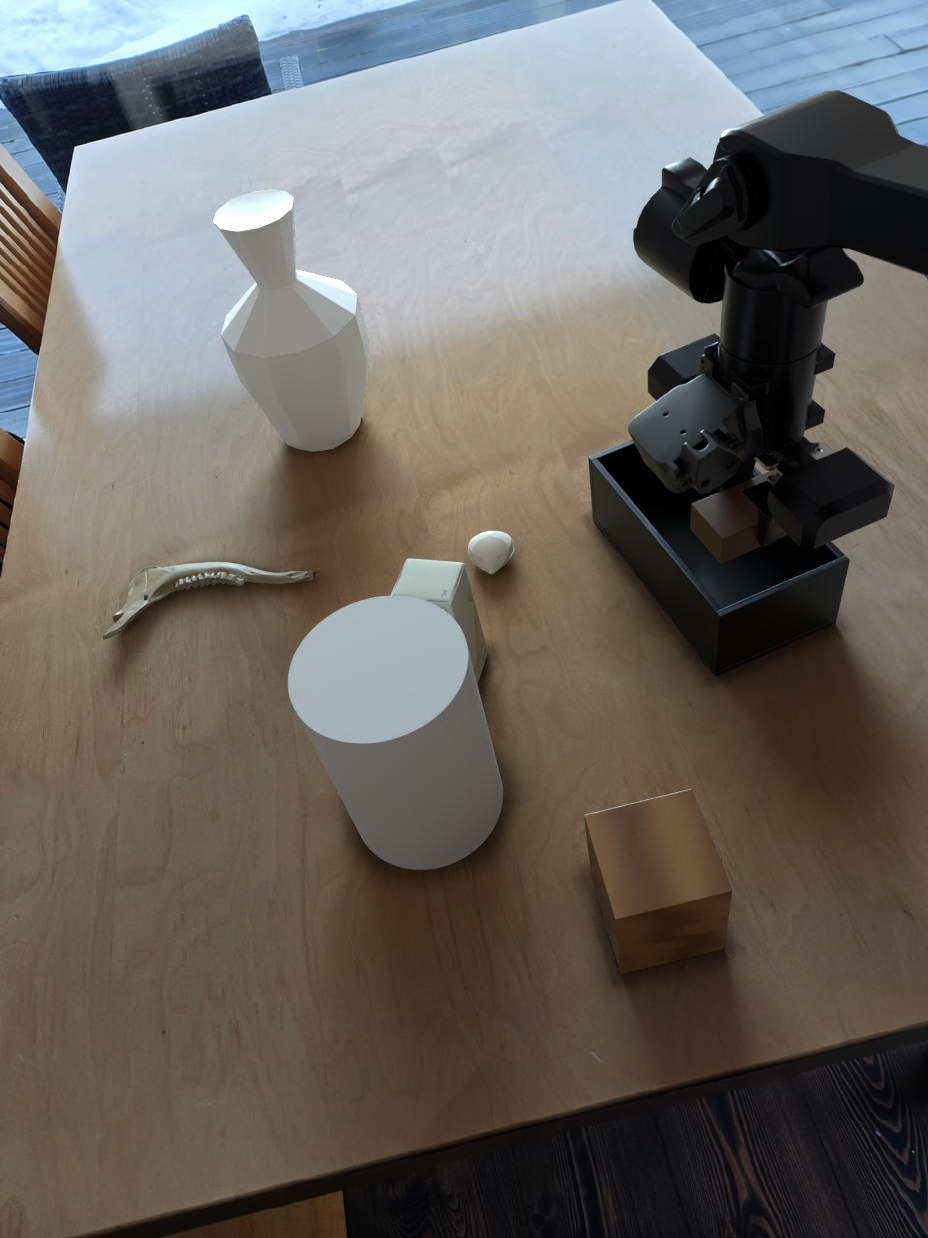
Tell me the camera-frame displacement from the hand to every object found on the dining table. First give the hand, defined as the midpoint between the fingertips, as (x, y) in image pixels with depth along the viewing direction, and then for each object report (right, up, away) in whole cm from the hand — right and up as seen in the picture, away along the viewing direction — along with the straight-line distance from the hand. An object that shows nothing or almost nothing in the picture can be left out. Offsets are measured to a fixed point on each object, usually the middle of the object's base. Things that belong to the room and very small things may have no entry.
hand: (748, 524), depth 66 cm
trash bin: (+1, -2, +16) cm, 16 cm away
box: (-21, -11, +13) cm, 27 cm away
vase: (-36, +15, +38) cm, 54 cm away
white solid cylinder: (-23, -21, +5) cm, 31 cm away
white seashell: (-18, -2, +20) cm, 27 cm away
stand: (-7, -26, -3) cm, 28 cm away
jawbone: (-44, -6, +22) cm, 50 cm away
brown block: (0, 0, 0) cm, 0 cm away
